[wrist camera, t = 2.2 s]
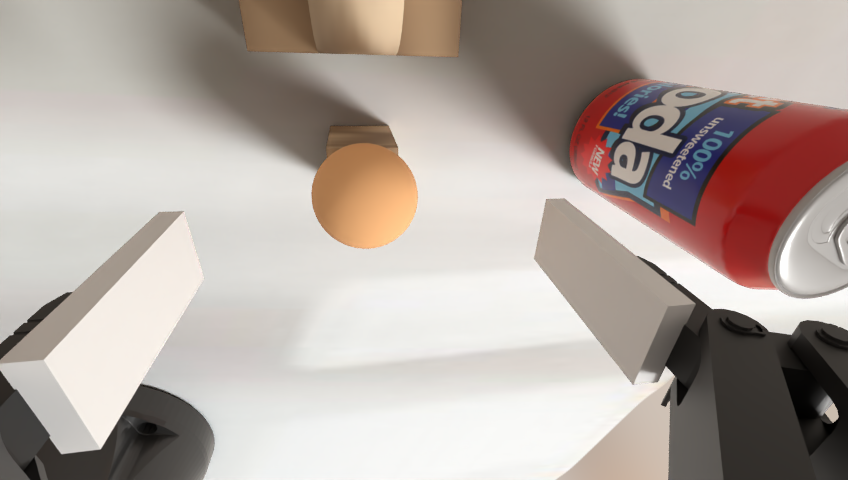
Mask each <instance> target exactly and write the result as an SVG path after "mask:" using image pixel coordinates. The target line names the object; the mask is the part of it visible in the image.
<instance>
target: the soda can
mask: <svg viewBox="0 0 848 480" xmlns="http://www.w3.org/2000/svg"><path fill="white" fill-rule="evenodd" d="M569 154H570V163H571V167H572V170H573V172H574V174H575V175H576V177H577V178H578V180H579V181H580V182H581V183H582V184H583V185H585V186H586V187H587V188H589V189H590V190H592V191H593V192H595V193H596V194H598V195H599V196H601V197H602V198H604V199H605V200H607V201H609V202H610V203H612V204H613V205H615V206H616V207H618V208H619V209H621V210H622V211H624V212H626V213H627V214H629V215H630V216H632V217H633V218H635V219H636V220H638V221H639V222H641V223H643V224H644V225H646V226H647V227H649V228H650V229H652V230H653V231H655V232H656V233H658V234H660V235H661V236H663V237H664V238H666V239H667V240H669V241H670V242H672V243H674V244H675V245H677V246H678V247H680V248H681V249H683V250H684V251H686V252H687V253H689V254H691V255H692V256H694V257H695V258H697V259H698V260H700V261H701V262H703V263H704V264H706V265H708V266H709V267H711V268H712V269H714V270H715V271H717V272H718V273H720V274H722V275H723V276H725V277H726V278H728V279H730V280H731V281H733V282H735V283H737V284H739V285H742V286H744V287H747V288H752V289H772V290H779V291H781V292H782V293H784V294H786V295H788V296H791V297H794V298H801V299H809V298H817V297H822V296H826V295H829V294H832V293H835V292H837V291H840V290H842V289H844V288H846V287H848V110H846V109H839V108H833V107H826V106H820V105H813V104H807V103H800V102H793V101H787V100H780V99H774V98H767V97H761V96H754V95H748V94H741V93H735V92H728V91H722V90H715V89H709V88H702V87H695V86H689V85H682V84H676V83H669V82H663V81H656V80H649V79H632V80H627V81H623V82H620V83H617V84H615V85H613V86H611V87H609V88H608V89H606V90H605V91H603V92H602V93H601V94H599V95H598V96H597V97H596V98H595V99H594V100H593V101H592V102H591V103H590V104H589V105H588V106H587V108H586V109H585V110H584V112H583V113H582V114H581V116H580V118H579V119H578V121H577V123H576V126H575V128H574V131H573V134H572V137H571V142H570V152H569Z"/></svg>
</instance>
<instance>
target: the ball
mask: <svg viewBox="0 0 848 480" xmlns="http://www.w3.org/2000/svg"><path fill="white" fill-rule="evenodd" d="M417 199H418V193H417V186H416V182H415V179H414V176H413V174H412V172H411V170H410V169H409V167H408V166H407V164H406V163H405V162H404V161H403V160H402V159H401V158H400V157H399V156H398V155H397V154H396V153H394V152H392V151H391V150H389V149H387V148H385V147H382V146H379V145H376V144H371V143H357V144H352V145H348V146H345V147H342V148H341V149H339V150H337V151H335V152H334V153H332V154H331V155H330V156H329V157H328V158H327V159H325V161H324V162H323V163H322V164H321V166H320V167H319V169H318V171H317V173H316V175H315V178H314V181H313V185H312V204H313V209H314V212H315V215H316V217H317V219H318V221H319V223H320V224H321V226H322V227H323V228H324V230H325V231H326V232H327V233H328V234H329V235H330V236H332V237H333V238H334V239H336V240H337V241H339V242H341V243H343V244H345V245H348V246H351V247H355V248H362V249H369V248H376V247H380V246H383V245H386V244H388V243H390V242H392V241H393V240H395V239H396V238H398V237H399V236H400V235H401V234H402V233H403V232H404V231H405V230H406V229H407V228H408V226H409V225H410V223H411V221H412V219H413V217H414V214H415V212H416V208H417Z"/></svg>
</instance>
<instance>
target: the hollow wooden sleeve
mask: <svg viewBox="0 0 848 480" xmlns="http://www.w3.org/2000/svg"><path fill="white" fill-rule="evenodd" d="M357 143H371V144H376V145H379V146H382V147H385V148H387V149H389V150H391V151H392V152H394V153H396V154H397V155H398V146H397V144H396V142H395V139H394V137H393V135H392V132H391V130H390V128H389V126H330V131H329V136H328V141H327V146H326V153H327V158H328V157H329V156H330V155H331V154H332V153H334V152H335V151H337V150H339V149H341V148H342V147H345V146H348V145H352V144H357Z"/></svg>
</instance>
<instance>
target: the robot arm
mask: <svg viewBox="0 0 848 480" xmlns="http://www.w3.org/2000/svg"><path fill="white" fill-rule="evenodd" d="M534 259H535V261H536V262H537V263H538V264H539V266H540V267H541V268H542V269H543V271H544V272H545V273H546V275H547V276H548V277H549V278H550V280H551V281H552V282H553V284H554V285H555V286H556V287H557V289H558V290H559V291H560V292H561V294H562V295H563V296H564V298H565V299H566V300H567V301H568V303H569V304H570V305H571V306H572V308H573V309H574V310H575V312H576V313H577V314H578V315H579V317H580V318H581V319H582V320H583V322H584V323H585V324H586V326H587V327H588V328H589V329H590V331H591V332H592V333H593V334H594V336H595V337H596V338H597V340H598V341H599V342H600V343H601V345H602V346H603V347H604V348H605V350H606V351H607V352H608V354H609V355H610V356H611V357H612V359H613V360H614V361H615V362H616V364H617V365H618V366H619V368H620V369H621V370H622V371H623V373H624V374H625V375H626V376H627V378H628V379H629V380H630V382H631V383H632V384H633V385H638V384H646V383H654V382H658V381H659V379H660V377H661V375H662V372H663V370H664V368H665V366H667V368H668V369H669V370H670V371H671V372H672V373H673V374H674V375H675V378H674V380H673V382H672V384H671V386H670V388H669V389H668V391H667V393H666V395H665V397H664V399H663V402H662V404H661V405H662V406H665V407H666V405H667V403H668V402H669V401H670V435H669V477H668V480H848V331H847V330H845V329H843V328H841V327H839V328H838V326H835V325H832V324H827V323H823V322H819V321H810V320H807V321H802V322H800V324H799V325H798V326H797V328H796V329H795V331H794V332H793V334H792V335H787V334H780V333H773V332H768V330H767V329H766V328H765V327H764V326H762V325H761V324H760V323H759V322H757V321H755V320H753V319H752V318H750V317H748V316H746V315H743V314H740V313H738V312H735V311H730V310H726V309H714V310H713V309H711V308H710V307H709V306H707V305H706V304H705V303H704V302H702V301H701V300H700V299H698V298H697V297H696V296H695V295H693V294H692V293H691V292H689V291H688V290H687V289H686V288H684V287H683V286H682V285H680V284H677V281H675V280H674V279H673V278H671V277H670V276H667V274H666V273H665V272H664V271H663V270H661V269H660V268H659V267H657V266H656V265H655V264H653V263H651V262H649V261H647V260H645V259H643V258H641V257H639V256H635V255H634V254H633V253H632V252H630V251H629V250H628V249H627V248H625V247H624V246H623V245H622V244H620V243H619V242H618V241H617V240H616V239H614V238H613V237H612V236H611V235H609V234H608V233H607V232H606V231H604V230H603V229H602V228H601V227H599V226H598V225H597V224H596V223H594V222H593V221H592V220H591V219H589V218H588V217H587V216H586V215H584V214H583V213H582V212H581V211H579V210H578V209H577V208H576V207H574V206H573V205H572V204H571V203H569V202H568V201H567V200H566V199H546V203H545V208H544V213H543V218H542V223H541V227H540V232H539V237H538V242H537V247H536V252H535V256H534ZM203 280H204V276H203V272H202V269H201V266H200V262H199V259H198V256H197V253H196V249H195V246H194V243H193V239H192V236H191V233H190V230H189V226H188V223H187V220H186V216H185V213H184V211H179V212H159V213H158V214H157V215H156V216H154V217H153V218H152V219H151V220H150V221H149V222H148V223H147V224H146V225H145V226H144V227H143V228H142V229H140V230H139V231H138V232H137V233H136V234H135V235H134V236H133V237H132V238H131V239H130V240H129V241H128V242H126V243H125V244H124V245H123V246H122V247H121V248H120V249H119V250H118V251H117V252H116V253H115V254H114V255H112V256H111V257H110V258H109V259H108V260H107V261H106V262H105V263H104V264H103V265H102V266H101V267H100V268H98V269H97V270H96V271H95V272H94V273H93V274H92V275H91V276H90V277H89V278H88V279H87V280H86V281H84V282H83V283H82V284H81V285H80V286H79V287H78V288H77V289H76V290H75V291H74V292H69V293H65V294H63V295H62V296H60V297H58V298H56V299H55V300H53V301H51V302H49V303H48V304H46V305H44V306H43V307H42V308H41V309H39V310H38V311H37V312H36V313H35V314H34V315H33V316H31V317H30V318H29V319H28V320H27V321H28V322H27V323H24V324H22V325H21V326H20V327H19V328H18V329H17V330H16V331H15V332H14V335H11V336H9V337H8V338H7V339H6V340H4V341H3V342H2V343H1V344H0V480H203V478H204V476H205V474H206V472H207V469H208V466H209V463H210V460H211V457H212V454H213V450H214V435H213V432H212V429H211V427H210V425H209V424H208V422H207V421H206V419H205V418H204V417H203V416H202V415H201V414H200V413H199V412H198V411H197V410H195V409H194V408H193V407H191V406H190V405H188V404H187V403H185V402H184V401H182V400H180V399H178V398H176V397H174V396H171V395H169V394H167V393H164V392H161V391H158V390H155V389H151V388H147V387H143V386H139V385H140V384H141V382H142V380H143V379H144V377H145V375H146V374H147V372H148V370H149V369H150V367H151V366H152V364H153V362H154V361H155V359H156V357H157V356H158V354H159V352H160V351H161V349H162V347H163V346H164V344H165V342H166V341H167V339H168V338H169V336H170V334H171V333H172V331H173V329H174V328H175V326H176V324H177V323H178V321H179V319H180V318H181V316H182V314H183V313H184V311H185V309H186V308H187V306H188V305H189V303H190V301H191V300H192V298H193V296H194V295H195V293H196V291H197V290H198V288H199V286H200V285H201V283H202V281H203ZM833 403H834V404H835V406H836V408H837V410H838V415H839V418H838V419H837V420H836V421H835V422H834V423H832V422H831V421H830V420H829V418H828V417H827V415H826V414H825V412H826V411H827V409H828V408H829V407H830V406H831V405H832V404H833Z"/></svg>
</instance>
